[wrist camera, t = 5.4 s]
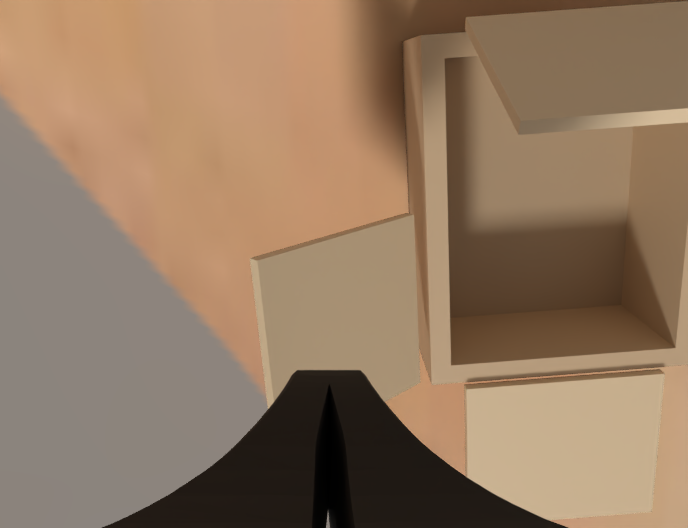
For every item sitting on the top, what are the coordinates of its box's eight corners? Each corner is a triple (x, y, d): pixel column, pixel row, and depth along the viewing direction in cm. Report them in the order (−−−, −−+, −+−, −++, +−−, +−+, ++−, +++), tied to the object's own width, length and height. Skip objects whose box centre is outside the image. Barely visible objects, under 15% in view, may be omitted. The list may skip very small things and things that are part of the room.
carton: (726, 427, 24) (807, 499, 20) (418, 452, 24) (437, 529, 20) (781, 13, 20) (898, -1, 16) (402, 41, 20) (422, 34, 16)
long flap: (836, 111, 12) (843, 96, 12) (518, 135, 12) (520, 120, 11) (706, 11, 15) (710, -1, 15) (464, 29, 15) (465, 16, 15)
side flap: (257, 260, 14) (250, 258, 14) (280, 458, 15) (273, 453, 15) (413, 214, 17) (405, 213, 17) (420, 382, 18) (412, 379, 18)
